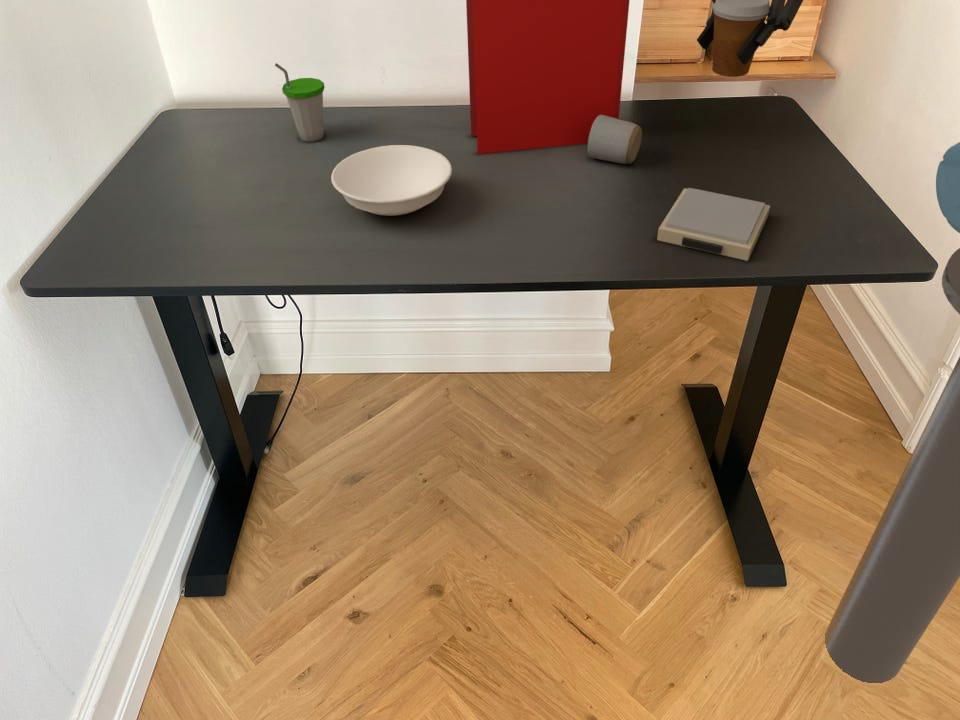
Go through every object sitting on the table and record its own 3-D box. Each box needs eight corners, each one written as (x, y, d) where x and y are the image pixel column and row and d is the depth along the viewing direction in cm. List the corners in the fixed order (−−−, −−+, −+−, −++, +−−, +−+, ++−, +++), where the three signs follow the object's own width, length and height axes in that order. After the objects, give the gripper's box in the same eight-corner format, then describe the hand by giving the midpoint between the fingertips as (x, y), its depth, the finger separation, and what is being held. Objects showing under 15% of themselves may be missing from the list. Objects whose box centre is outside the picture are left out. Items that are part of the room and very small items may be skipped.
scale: (767, 217, 126) (771, 201, 124) (746, 263, 116) (750, 246, 114) (682, 199, 131) (684, 184, 129) (655, 242, 121) (657, 225, 119)
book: (477, 153, 146) (471, -32, 125) (471, 135, 152) (464, -44, 131) (618, 140, 149) (635, -44, 128) (606, 122, 155) (621, -56, 134)
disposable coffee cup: (693, 72, 139) (703, 1, 131) (718, 57, 144) (730, -13, 136) (742, 85, 134) (756, 11, 126) (767, 68, 139) (782, -3, 132)
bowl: (438, 170, 141) (436, 137, 137) (467, 224, 127) (465, 189, 123) (329, 187, 138) (323, 154, 134) (345, 245, 123) (339, 209, 119)
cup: (338, 130, 156) (326, 54, 146) (322, 147, 150) (308, 69, 140) (302, 127, 158) (288, 51, 148) (285, 143, 152) (269, 66, 142)
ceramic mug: (628, 172, 139) (633, 131, 134) (585, 164, 142) (588, 123, 137) (646, 148, 146) (651, 108, 141) (604, 141, 149) (607, 102, 144)
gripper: (865, -38, 127) (776, 82, 131) (763, -61, 141) (685, 47, 145) (853, -69, 122) (760, 57, 126) (748, -91, 136) (668, 23, 140)
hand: (720, 52), depth 135 cm, fingers closed on disposable coffee cup, 9 cm apart
